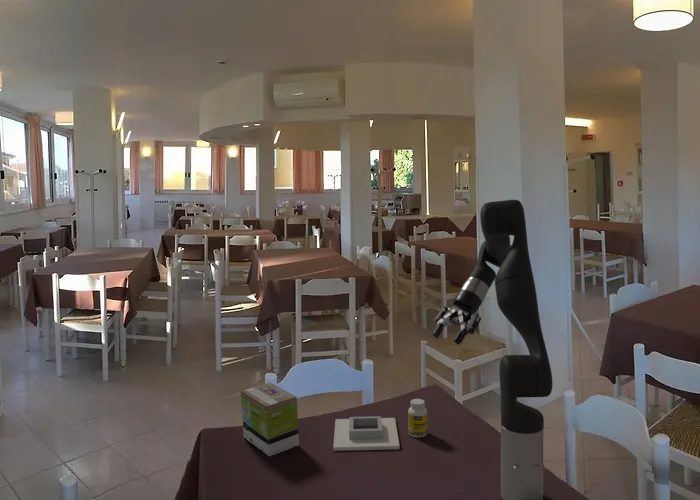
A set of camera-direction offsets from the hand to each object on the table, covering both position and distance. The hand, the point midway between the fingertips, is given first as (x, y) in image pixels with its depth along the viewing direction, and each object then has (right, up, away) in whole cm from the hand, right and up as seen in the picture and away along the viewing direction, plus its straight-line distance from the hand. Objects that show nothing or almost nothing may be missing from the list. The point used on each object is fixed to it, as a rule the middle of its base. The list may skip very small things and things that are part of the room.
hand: (445, 339), depth 165 cm
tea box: (-50, -28, -6) cm, 58 cm away
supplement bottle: (-8, -27, -3) cm, 28 cm away
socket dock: (-23, -27, -3) cm, 36 cm away
